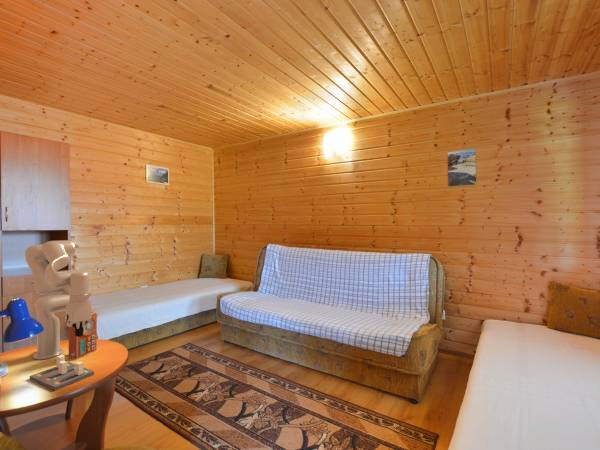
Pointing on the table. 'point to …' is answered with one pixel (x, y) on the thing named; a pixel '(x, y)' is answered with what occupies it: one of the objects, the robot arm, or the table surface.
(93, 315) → the control panel
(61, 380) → the breaker panel
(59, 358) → the breaker left
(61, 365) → the block
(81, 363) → the block
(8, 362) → the table surface
